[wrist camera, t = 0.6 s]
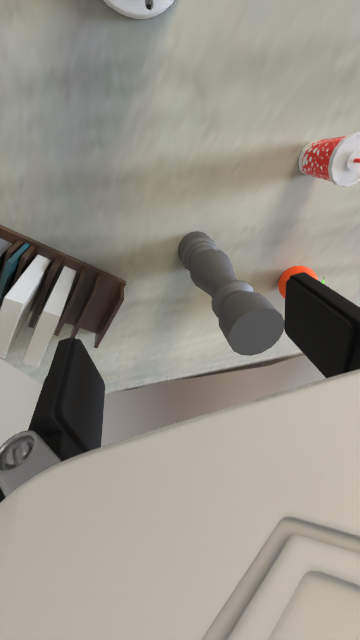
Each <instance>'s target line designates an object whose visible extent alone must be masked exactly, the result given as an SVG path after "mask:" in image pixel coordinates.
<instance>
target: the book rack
mask: <svg viewBox="0 0 360 640" xmlns="http://www.w3.org/2000/svg"><path fill="white" fill-rule="evenodd" d="M0 238H1V239H3V240H6V241H8V242H10V243H13V246H12V247H10V248H9V249H8V250H7V252H6V255H5V259H4V262H3V265H2V269H1V272H0V309H1V306H2V303H3V300H4V297H5V296H6V295H7V293H8V292H9V291H10V289H11V288H12V287H13V286H14V284H15V283H16V282H17V281H18V279H19V278H20V277H21V275H22V274H23V273H24V272H25V270H26V269H27V268H28V267H29V265H30V264H31V263H32V261H33V260H34V259H35V258H36V256H37V255H40V256H42V257H45V258H47V259H49V260H51V262H50V265H49V268H48V270H47V273H46V275H45V278H44V281H43V283H42V286H41V288H40V291H39V294H38V296H37V299H36V302H35V304H34V306H33V308H32V310H31V311H32V312H33V315H32V317H31V320H30V323H29V325H28V327H31V328H34V326H35V324H36V322H37V320H38V318H39V316H40V314H42V311H43V309H44V307H45V305H46V303H47V301H48V299H49V297H50V295H51V292H52V290H53V288H54V286H55V284H56V282H57V280H58V278H59V276H60V274H61V272H62V270H63V268H64V266H66V267H68V268H70V269H73V270H75V271H77V272H76V275H75V277H74V280H73V283H72V286H71V289H70V291H69V294H68V297H67V300H66V302H65V305H64V308H63V311H62V314H61V316H60V319H59V323H58V326H57V329H56V331H55V334H54V335H56V336H58V335H59V333H60V330H61V328H62V326H63V324H64V322H65V323H68V324H71V325H73V329H72V333H71V336H70V338H71V337H74V338H75V336H76V334H77V332H78V330H79V328H82V329H85V330H88V331H91V332H94V333H96V336H95V343H94V347H95V348H98V346H99V344H100V342H101V340H102V338H103V337H104V335H105V333H106V331H107V329H108V328H109V326H110V324H111V322H112V320H113V318H114V317H115V315H116V313H117V311H118V309H119V308H120V306H121V304H122V302H123V300H124V287H125V285H126V281H123V280H121V279H119V278H117V277H115V276H112V275H110V274H108V273H106V272H104V271H101V270H99V269H97V268H95V267H92V266H90V265H88V264H86V263H84V262H81V261H79V260H77V259H75V258H72V257H70V256H68V255H66V254H64V253H61V252H59V251H57V250H55V249H52V248H50V247H48V246H46V245H44V244H41V243H39V242H37V241H35V240H33V239H30V238H28V237H26V236H24V235H21V234H19V233H17V232H15V231H13V230H10V229H8V228H6V227H4V226H1V225H0Z"/></svg>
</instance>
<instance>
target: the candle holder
mask: <svg viewBox="0 0 360 640" xmlns="http://www.w3.org/2000/svg"><path fill="white" fill-rule="evenodd" d="M178 252H179V257H180V259H181V261H182V263H183V264H184V266H185V267H186V269H188V270H189V271H190V275H191V279H192V280H193V282H194V283H195V285H196V286H197V287H199V288H200V289H202V290H203V291H205V292H206V293H208V294H209V295H210V296H211V297H212V310H213V311H214V313H215V315H216V316H217V317H218V318H219V327H220V328H221V330H222V332H223V334H224V336H225V338H226V339H227V341H228V343H229V345H230V346H231V348H232V349H233V351H235V352H237V353H239V354H241V355H255V354H259V353H262V352H264V351H266V350H267V349H269V348H271V347H272V346H273V345H274V344H275V343H276V342H277V341H278V340H279V338H280V336H281V335H282V333H283V331H284V320H283V318H282V315H281V314H280V313H279V312H278V310H277V309H276V308H275V307H274V306H273V305H272V304H271V303H270V302H269V301H268V300H267V299H266V298H265V297H263V296H262V295H260V294H259V293H255V292H254V290H253V288H252V287H251V286H250V285H249V284H247V283H246V282H245V281H239V280H237V279H236V278H235V275H234V272H233V268H232V265H231V262H230V260H229V258H228V256H227V255H226V254H224V253H223V252H222V251H220V250H218V248H217V247H216V245H215V243H214V242H213V241H212V240H211V239H210V238H209V237H208V236H207V235H206V234H204V233H202V232H192V233H189V234H188V235H186V236H185V237H184V238H183V239H182V241H181V242H180V244H179V249H178Z"/></svg>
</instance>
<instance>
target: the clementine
mask: <svg viewBox="0 0 360 640" xmlns="http://www.w3.org/2000/svg"><path fill="white" fill-rule="evenodd" d="M301 272H305V273H307V274H309V275H310V276H312V277H313V278H315V279H316V280H318V279H317V276H316V274H315V273H314V272H313V271H312V270H311V269H309V268H307V267H304V266H294V267H291V268H289V269H288V270H286V271H285V272H284V273H283V274H282V275H281V277H280V279H279V283H278V287H279V291H280V293H281V295H282V296H283V297H284V298H285V294H286V281H287V280H288V279H289V277H290V276H291V275H294V274H298V273H301ZM323 278H324V277H323ZM321 283H323V284H324V280H323V281H322V282H321Z"/></svg>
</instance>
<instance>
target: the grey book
mask: <svg viewBox="0 0 360 640" xmlns="http://www.w3.org/2000/svg"><path fill="white" fill-rule="evenodd" d="M12 246H13V243H10V242H8V241H6V240H3V239H1V238H0V272H1V269H2V265H3V262H4V259H5V255H6V252H7V250H8V249H9V248H10V247H12Z"/></svg>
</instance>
